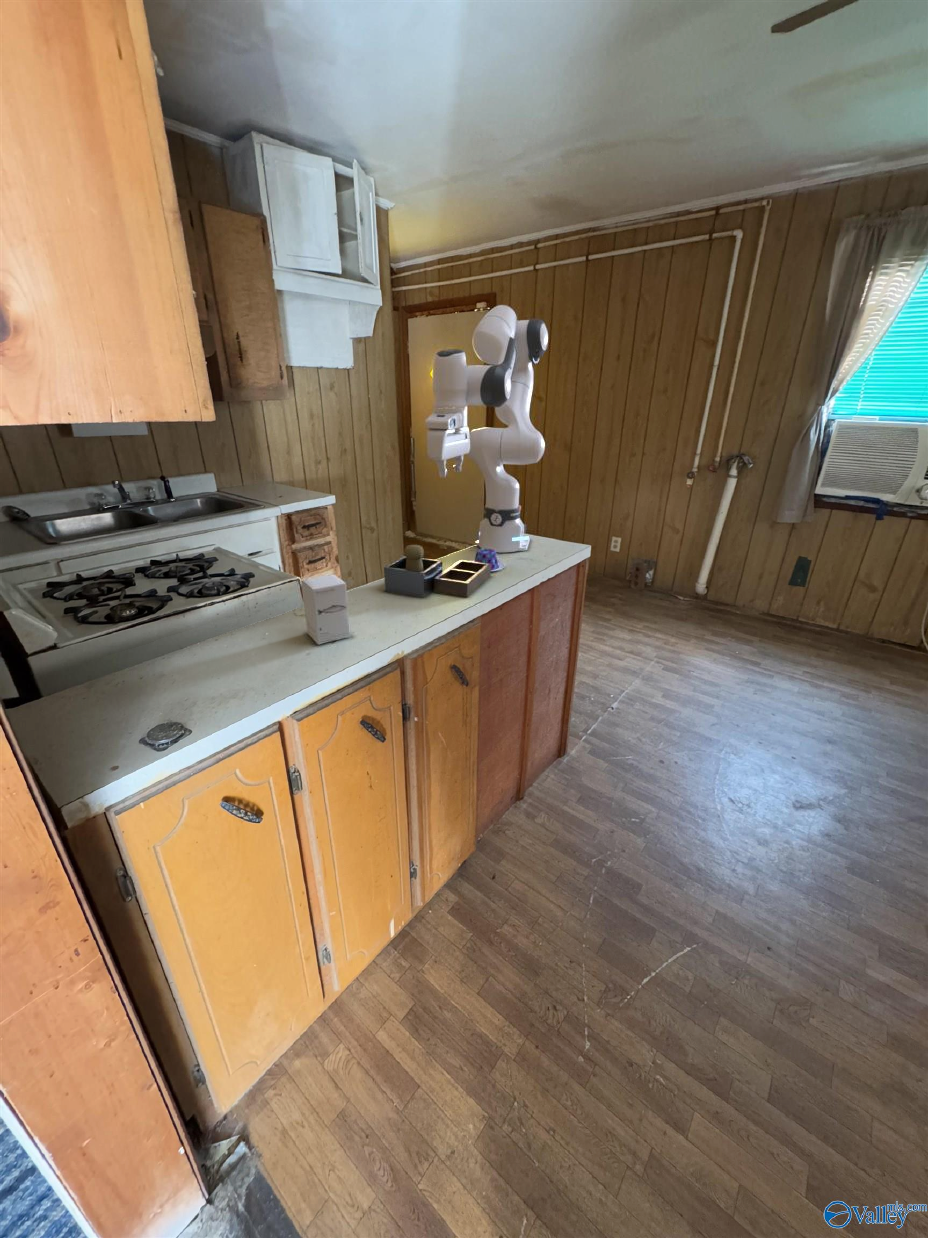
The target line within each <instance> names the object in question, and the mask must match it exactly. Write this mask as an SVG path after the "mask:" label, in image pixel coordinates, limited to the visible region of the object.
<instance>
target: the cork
mask: <svg viewBox="0 0 928 1238" xmlns="http://www.w3.org/2000/svg"><path fill="white" fill-rule="evenodd" d="M424 554H425V552H424V548H423V546H421V545H418V544H409V545H406V546H405V547H404V551H403V555H404V556H405V557H406V558H407V559H406V569H405V570H411V571H418V572H423V571H424V569H423V562H422V558H424Z"/></svg>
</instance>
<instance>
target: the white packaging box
mask: <svg viewBox="0 0 928 1238" xmlns="http://www.w3.org/2000/svg"><path fill="white" fill-rule="evenodd" d="M300 583H301V584H300V585H301V591H302V599H303V608H304V615H305V623H306V631H307V634H308V635H309V636H310V637H311V639H312V640H313V641H314V642H315V643H316V644H317V645H323V644H325V643H326V644H327V643H329V642H334V641H338V640H343V639H348V638H351V628H350V618H349V608H348V607H349V606H348V594H347V583H346V582H345V581H344V580H342V579H341V578H340V577H338V576H337V575H336V574H335V573H333V574H327V575H322V576H317V577H309V578H304V579H301V580H300Z"/></svg>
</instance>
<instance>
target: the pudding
mask: <svg viewBox="0 0 928 1238" xmlns="http://www.w3.org/2000/svg"><path fill="white" fill-rule="evenodd" d="M471 561H472V562H480V563H487V564H491V572H495V571H500V570H503V569H505V568H506V563H505V562H503V561H501V560H498V555H497V552H495V550H492V549H482V548H479V549H478V550H477V551H476V552H475V556H474V559H473V560H471Z"/></svg>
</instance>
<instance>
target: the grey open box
mask: <svg viewBox="0 0 928 1238" xmlns="http://www.w3.org/2000/svg"><path fill="white" fill-rule="evenodd" d="M406 559H407V558H406V557H405V555H404V556H402V557H401V558H398V559H397V560H394V561H393V562H391V563H390V564H388V565H386V566H384V567H383V574H384V577H383V578H384V592H386V593H390V594H397V595H403V596H408V597H409V596H410V597H416V598H420V599H421V598H422V599H425V598H426V597H427V596H429V595H430V594H431V593H434V578H435V577H437V576H438V575H439V574H441V573H442V572H443V560H440V559H439V560H438V559H432V558H424V557H422V562H423V569H424V571H423V572H418V571H411V570H405V569H406Z"/></svg>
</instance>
